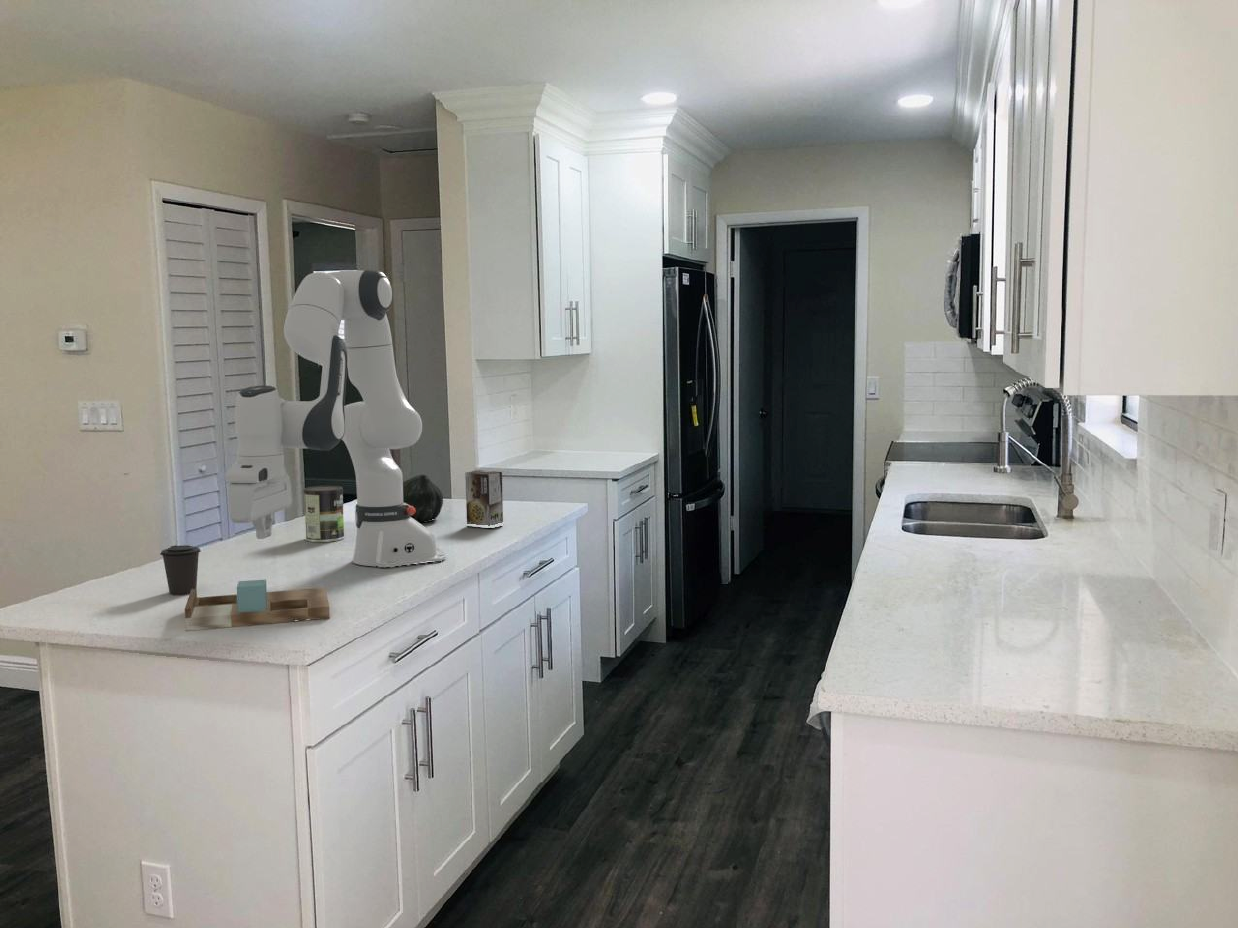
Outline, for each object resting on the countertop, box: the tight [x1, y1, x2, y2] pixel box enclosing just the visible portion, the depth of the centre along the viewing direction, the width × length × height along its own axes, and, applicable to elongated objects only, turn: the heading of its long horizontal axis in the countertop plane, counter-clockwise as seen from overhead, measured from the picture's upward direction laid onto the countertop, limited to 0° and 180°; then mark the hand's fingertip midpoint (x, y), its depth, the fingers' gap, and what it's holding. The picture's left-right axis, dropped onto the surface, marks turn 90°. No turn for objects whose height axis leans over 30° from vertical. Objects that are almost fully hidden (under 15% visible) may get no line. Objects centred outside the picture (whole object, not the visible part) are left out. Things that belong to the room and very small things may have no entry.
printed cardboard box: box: [464, 469, 504, 526], centre depth 295 cm, size 9×6×16 cm
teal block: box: [236, 579, 268, 613], centre depth 197 cm, size 5×5×5 cm
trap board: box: [184, 587, 331, 632], centre depth 202 cm, size 26×16×4 cm, turn 109°
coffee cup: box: [159, 544, 202, 596], centre depth 219 cm, size 8×8×10 cm
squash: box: [403, 474, 444, 522], centre depth 304 cm, size 14×15×15 cm
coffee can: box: [303, 485, 345, 543], centre depth 277 cm, size 10×10×14 cm
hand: (264, 537), depth 202 cm, fingers closed
